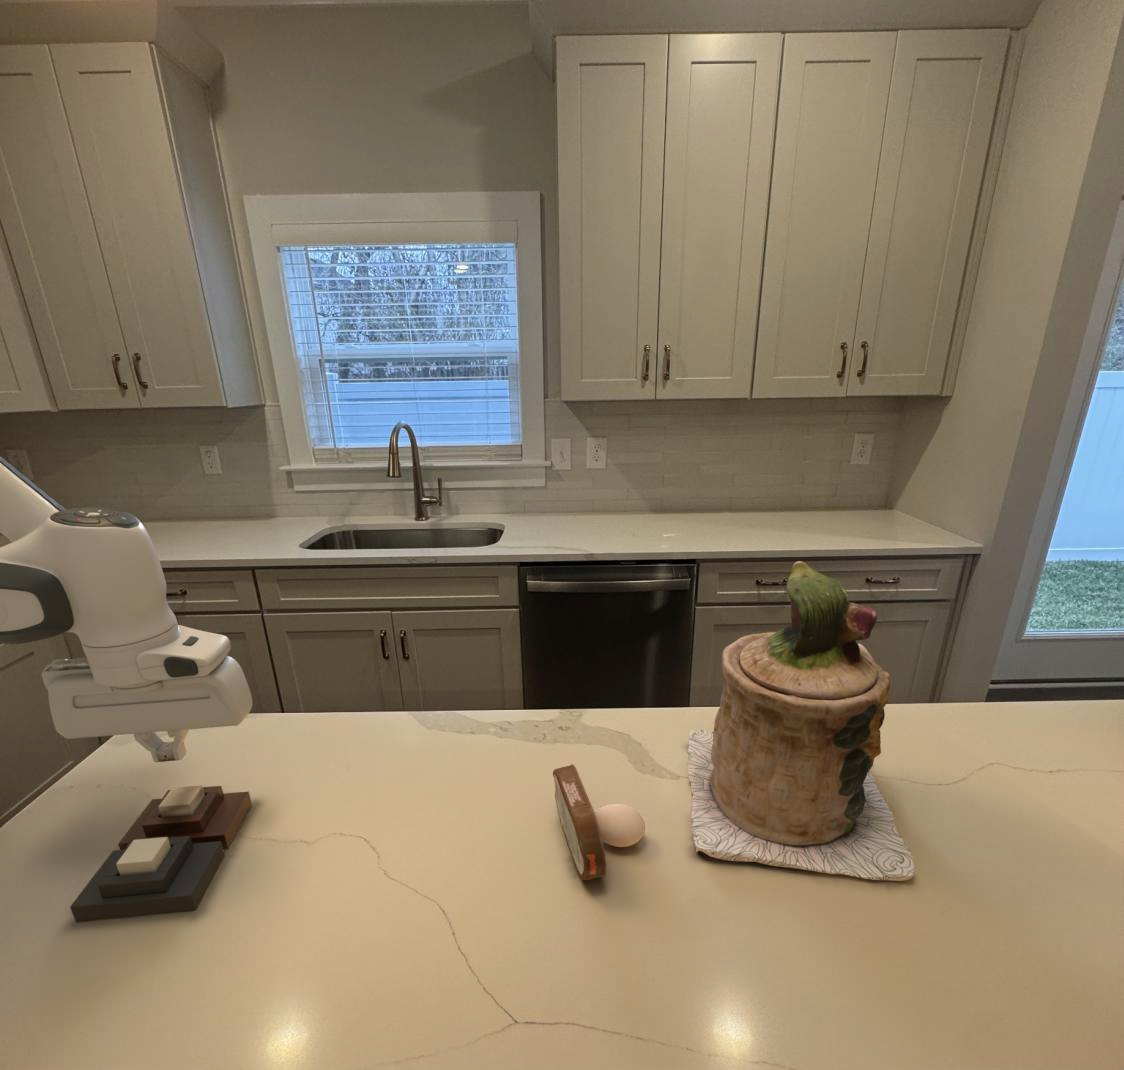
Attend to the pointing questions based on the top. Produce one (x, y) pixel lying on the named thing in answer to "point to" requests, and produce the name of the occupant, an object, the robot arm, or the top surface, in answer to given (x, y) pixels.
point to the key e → (182, 801)
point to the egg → (620, 825)
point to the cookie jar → (799, 745)
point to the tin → (579, 823)
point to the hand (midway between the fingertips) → (171, 758)
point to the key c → (144, 856)
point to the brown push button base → (194, 819)
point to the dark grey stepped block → (151, 884)
